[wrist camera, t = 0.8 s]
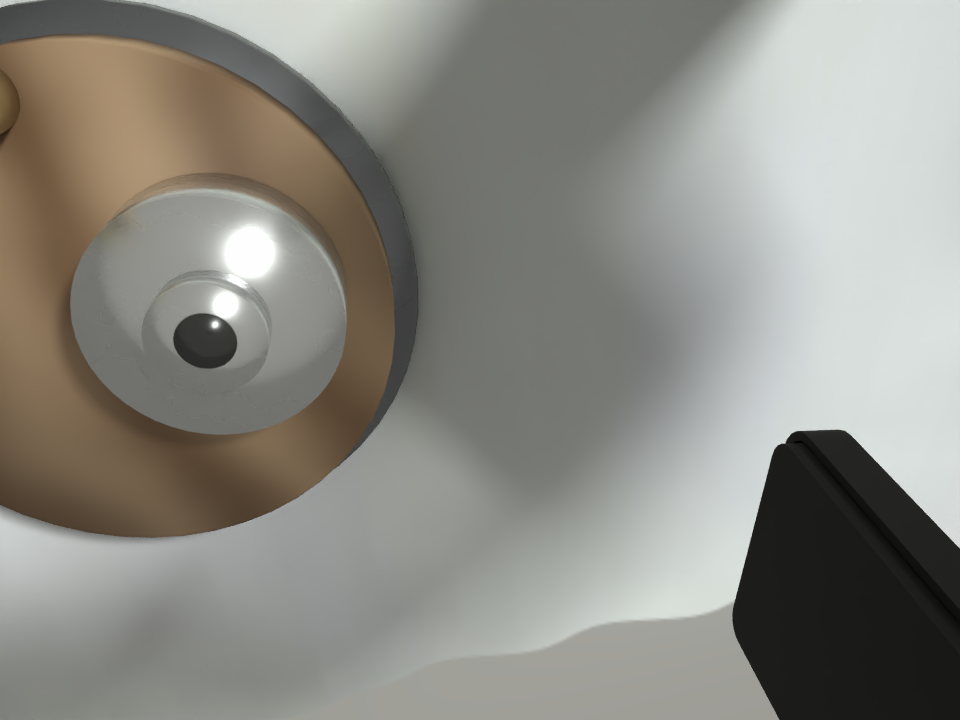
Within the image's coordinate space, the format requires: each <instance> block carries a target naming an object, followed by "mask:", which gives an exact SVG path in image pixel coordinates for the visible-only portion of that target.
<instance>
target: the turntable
mask: <svg viewBox="0 0 960 720" xmlns="http://www.w3.org/2000/svg"><path fill="white" fill-rule="evenodd" d="M193 173H224V174H233V175H237V176H241V177H246V178H250V179H253V180H256V181H258V182H261V183H264V184H267V185H269V186H271V187H273V188H275V189H277V190H279V191H281V192H283V193H284V194H286V195H287V196H289V197H290V198H292V199H293V200H295V201H296V202H298V203H299V204H300V205H301V206H302V207H304V208H305V209H306V210H307V211H308V212H310V213H311V214H312V215H313V217H314V218H315V219H316V220H317V221H318V222H319V223H320V224H321V225H322V227H323V228H324V229H325V231H326V232H327V234H328V235H329V237H330V238H331V239H332V241H333V243H334V245H335V247H336V249H337V251H338V253H339V255H340V258H341V261H342V264H343V266H344V270H345V275H346V280H347V290H348V304H347V321H346V336H345V344H344V349H343V353H342V357H341V360H340V362H339V365H338V367H337V370H336V372H335V373H334V375H333V377H332V379H331V380H330V382H329V383H328V385H327V386H326V387H325V389H324V390H323V391H322V392H321V394H320V395H319V396H318V397H317V398H316V399H315V400H314V401H313V402H312V403H310V404H309V405H308V406H307V407H305V408H304V409H303V410H301V411H300V412H299V413H297V414H296V415H294V416H292V417H290V418H288V419H287V420H285V421H283V422H280V423H278V424H275V425H273V426H271V427H268V428H264V429H260V430H257V431H253V432H246V433H240V434H226V435H217V434H203V433H196V432H190V431H185V430H182V429H178V428H174V427H171V426H168V425H165V424H163V423H160V422H158V421H155V420H153V419H151V418H149V417H147V416H145V415H143V414H141V413H139V412H138V411H136V410H135V409H133V408H132V407H130V406H129V405H127V404H125V403H124V402H123V401H122V400H121V399H119V398H118V397H117V396H116V395H114V394H113V393H112V392H111V391H110V390H109V389H108V388H107V387H106V386H105V385H104V384H103V383H102V382H101V381H100V379H99V378H98V377H97V375H96V374H95V373H94V371H93V370H92V369H91V367H90V366H89V364H88V362H87V361H86V359H85V357H84V355H83V354H82V352H81V349H80V347H79V344H78V342H77V339H76V337H75V333H74V329H73V325H72V320H71V310H70V299H71V288H72V283H73V279H74V274H75V272H76V269H77V267H78V264H79V262H80V259H81V257H82V256H83V254H84V253H85V251H86V249H87V248H88V246H89V244H90V243H91V242H92V241H93V240H94V238H95V237H96V236H97V235H98V234H99V232H100V231H101V230H102V229H103V228H104V226H105V225H106V224H107V223H108V222H109V220H110V219H111V218H112V217H113V216H114V214H115V213H116V212H117V211H118V210H119V209H120V207H121V206H122V205H123V204H125V203H126V202H127V201H128V200H129V199H130V198H132V197H133V196H134V195H136V194H137V193H139V192H140V191H142V190H144V189H145V188H147V187H149V186H151V185H153V184H155V183H158V182H160V181H162V180H165V179H169V178H172V177H176V176H179V175H186V174H193ZM394 339H395V319H394V297H393V282H392V277H391V272H390V266H389V261H388V255H387V251H386V248H385V245H384V242H383V239H382V236H381V233H380V230H379V227H378V224H377V222H376V220H375V218H374V216H373V214H372V212H371V210H370V208H369V205H368V203H367V201H366V199H365V197H364V195H363V193H362V191H361V190H360V188H359V187H358V185H357V184H356V182H355V181H354V179H353V178H352V176H351V175H350V173H349V172H348V170H347V169H346V167H345V166H344V164H343V163H342V162H341V160H340V159H339V158H338V157H337V156H336V155H335V153H334V152H333V151H332V150H331V149H330V148H329V146H328V145H327V144H326V143H325V142H324V141H323V139H322V138H321V137H320V136H319V135H318V134H317V133H316V132H315V131H314V130H313V129H312V128H311V127H310V126H308V125H307V124H306V123H305V122H304V121H303V120H302V119H301V118H300V117H299V116H297V115H296V114H295V113H294V112H293V111H292V110H291V109H290V108H288V107H287V106H286V105H284V104H283V103H281V102H280V101H279V100H277V99H276V98H274V97H273V96H271V95H270V94H269V93H267V92H266V91H264V90H263V89H262V88H260V87H259V86H257V85H256V84H254V83H252V82H250V81H248V80H247V79H245V78H243V77H241V76H239V75H237V74H236V73H234V72H232V71H230V70H228V69H226V68H225V67H223V66H221V65H218V64H216V63H213V62H211V61H208V60H206V59H203V58H201V57H198V56H196V55H193V54H191V53H188V52H186V51H183V50H180V49H176V48H172V47H169V46H165V45H161V44H157V43H153V42H150V41H146V40H142V39H135V38H128V37H120V36H113V35H105V34H52V35H45V36H38V37H30V38H23V39H17V40H13V41H10V42H6V43H3V44H0V505H2V506H5V507H7V508H9V509H11V510H14V511H16V512H18V513H21V514H23V515H26V516H29V517H33V518H36V519H39V520H42V521H45V522H48V523H51V524H54V525H58V526H63V527H67V528H71V529H76V530H80V531H85V532H90V533H98V534H106V535H114V536H123V537H169V536H185V535H191V534H197V533H203V532H209V531H215V530H219V529H222V528H226V527H230V526H233V525H237V524H240V523H244V522H247V521H249V520H252V519H254V518H257V517H259V516H262V515H264V514H267V513H269V512H272V511H274V510H275V509H277V508H279V507H281V506H283V505H285V504H287V503H288V502H290V501H292V500H294V499H296V498H298V497H299V496H300V495H302V494H303V493H305V492H306V491H307V490H309V489H310V488H312V487H313V486H315V485H316V484H317V483H319V482H320V481H321V480H322V479H323V478H325V477H326V476H327V475H328V474H329V473H330V472H331V471H332V470H333V469H334V468H335V467H337V466H338V465H339V464H340V463H341V462H342V461H343V459H344V458H345V457H346V456H347V455H348V453H349V452H350V451H351V450H352V448H353V447H354V446H355V445H356V444H357V442H358V441H359V440H360V438H361V436H362V435H363V433H364V432H365V430H366V428H367V427H368V425H369V423H370V422H371V420H372V418H373V417H374V414H375V412H376V410H377V407H378V405H379V403H380V400H381V398H382V396H383V393H384V391H385V387H386V384H387V380H388V376H389V372H390V368H391V365H392V357H393V348H394Z"/></svg>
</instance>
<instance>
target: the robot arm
mask: <svg viewBox="0 0 960 720" xmlns="http://www.w3.org/2000/svg"><path fill="white" fill-rule="evenodd" d="M733 627H734V631H735V635H736V638H737V640H738V642H739V644H740V646H741V648H742V650H743V651H744V654H745V656H746V657H747V659H748V661H749V663H750V665H751V667H752V669H753V671H754V672H755V674H756V676H757V678H758V680H759V682H760V684H761V686H762V688H763V690H764V691H765V693H766V695H767V697H768V699H769V701H770V703H771V705H772V706H773V708H774V710H775V712H776V714H777V716H778V718H779V720H960V548H959V547H958V546H957V545H956V544H955V543H954V542H953V541H952V540H951V539H950V538H949V537H948V536H947V535H946V534H945V533H944V532H943V531H942V530H941V529H940V528H939V527H938V526H937V524H936V523H935V522H934V521H933V520H932V519H931V518H930V517H929V516H928V515H927V514H926V513H925V512H924V511H923V510H922V509H921V508H920V507H919V506H918V505H917V504H916V503H915V502H914V501H913V499H912V498H911V497H910V496H909V495H908V494H907V493H906V492H905V491H904V490H903V489H902V488H901V487H900V486H899V485H898V484H897V483H896V482H895V481H894V480H893V479H892V478H891V477H890V476H889V475H888V473H887V472H886V471H885V470H884V469H883V468H882V467H881V466H880V465H879V464H878V463H877V462H876V461H875V460H874V459H873V458H872V457H871V456H870V455H869V454H868V453H867V452H866V451H865V450H864V448H863V447H862V446H861V445H860V444H859V443H858V442H857V441H856V440H855V439H854V438H853V437H852V436H851V435H850V434H848V433H847V432H846V431H843V430H817V431H796V432H794V433H792V434H791V435H790V436H789V437H788V439H787V441H786V444H780V445H778V446H777V447H776V448H775V450H774V452H773V455H772V459H771V463H770V466H769V470H768V474H767V478H766V482H765V486H764V490H763V494H762V498H761V502H760V505H759V509H758V513H757V517H756V521H755V525H754V529H753V533H752V537H751V541H750V544H749V548H748V552H747V556H746V560H745V564H744V568H743V572H742V576H741V580H740V583H739V587H738V591H737V595H736V599H735V603H734V607H733Z"/></svg>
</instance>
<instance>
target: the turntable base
mask: <svg viewBox="0 0 960 720" xmlns="http://www.w3.org/2000/svg"><path fill="white" fill-rule="evenodd" d="M52 34H105V35H113V36H120V37H128V38H135V39H142V40H146V41H150V42H153V43H157V44H161V45H165V46H169V47H172V48H176V49H180V50H183V51H186V52H188V53H191V54H193V55H196V56H198V57H201V58H203V59H206V60H208V61H211V62H213V63H216V64H218V65H221V66H223V67H225V68H226V69H228V70H230V71H232V72H234V73H236V74H237V75H239V76H241V77H243V78H245V79H247V80H248V81H250V82H252V83H254V84H256V85H257V86H259V87H260V88H262V89H263V90H264V91H266V92H267V93H269V94H270V95H271V96H273V97H274V98H276V99H277V100H279V101H280V102H281V103H283V104H284V105H286V106H287V107H288V108H290V109H291V110H292V111H293V112H294V113H295V114H296V115H297V116H299V117H300V118H301V119H302V120H303V121H304V122H305V123H306V124H307V125H308V126H310V127H311V128H312V129H313V130H314V131H315V132H316V133H317V134H318V135H319V136H320V137H321V138H322V139H323V141H324V142H325V143H326V144H327V145H328V146H329V148H330V149H331V150H332V151H333V152H334V153H335V155H336V156H337V157H338V158H339V159H340V160H341V162H342V163H343V164H344V166H345V167H346V169H347V170H348V172H349V173H350V175H351V176H352V178H353V179H354V181H355V182H356V184H357V185H358V187H359V188H360V190H361V191H362V193H363V195H364V197H365V199H366V201H367V203H368V205H369V208H370V210H371V212H372V214H373V216H374V218H375V220H376V222H377V224H378V227H379V230H380V233H381V236H382V239H383V242H384V245H385V248H386V251H387V255H388V261H389V266H390V272H391V277H392V282H393V297H394V319H395V339H394V348H393V357H392V365H391V368H390V372H389V376H388V380H387V384H386V387H385V391H384V393H383V396H382V398H381V400H380V403H379V405H378V407H377V410H376V412H375V414H374V417H373V418H372V420H371V422H370V423H369V425H368V427H367V428H366V430H365V432H364V433H363V435H362V436H361V438H360V440H359V441H358V442H357V444H356V445H355V446H354V447H353V448H352V450H351V451H350V452H349V453H348V455H347V456H346V457H345V458H344V459H343V461H344V460H346V459H347V458H348V457H349V456H350V455H351V454H352V453H353V452H354V451H355V450H356V449H357V448H359V447H360V446H361V445H362V443H363V442H364V441H365V440H366V439H367V437H368V436H369V435H370V434H371V432H372V431H373V430H374V429H375V428H376V426H377V425H378V424H379V423H380V421H381V419H382V418H383V416H384V415H385V413H386V411H387V410H388V408H389V407H390V405H391V403H392V402H393V400H394V398H395V396H396V394H397V392H398V389H399V387H400V385H401V383H402V380H403V378H404V376H405V373H406V371H407V367H408V364H409V360H410V356H411V353H412V349H413V345H414V342H415V333H416V325H417V317H418V280H417V271H416V265H415V259H414V253H413V247H412V241H411V236H410V233H409V230H408V227H407V224H406V220H405V217H404V214H403V211H402V208H401V205H400V203H399V200H398V198H397V196H396V194H395V192H394V190H393V188H392V185H391V183H390V181H389V179H388V177H387V175H386V173H385V171H384V169H383V168H382V166H381V165H380V163H379V161H378V160H377V158H376V157H375V155H374V154H373V152H372V150H371V149H370V147H369V146H368V144H367V143H366V141H365V139H364V138H363V137H362V136H361V135H360V133H359V132H358V131H357V130H356V129H355V127H354V126H353V125H352V124H351V123H350V121H349V120H348V119H347V118H346V117H345V115H344V114H343V113H342V112H341V111H340V109H339V108H338V107H337V106H336V105H334V104H333V103H332V102H331V101H330V100H329V99H328V98H327V97H326V96H325V95H324V94H323V93H322V92H321V91H320V90H318V89H317V88H316V87H315V86H314V85H313V84H312V83H311V82H310V81H309V80H308V79H306V78H305V77H304V76H302V75H301V74H299V73H298V72H297V71H295V70H294V69H293V68H291V67H290V66H289V65H287V64H286V63H284V62H283V61H282V60H280V59H279V58H278V57H276V56H275V55H273V54H272V53H270V52H268V51H266V50H265V49H263V48H261V47H259V46H257V45H256V44H254V43H252V42H250V41H248V40H247V39H245V38H243V37H241V36H240V35H238V34H236V33H234V32H231V31H229V30H227V29H224V28H222V27H219V26H217V25H214V24H212V23H210V22H207V21H205V20H202V19H200V18H197V17H195V16H192V15H188V14H185V13H181V12H177V11H174V10H170V9H166V8H163V7H159V6H155V5H152V4H146V3H139V2H132V1H125V0H37V1H30V2H22V3H16V4H12V5H8V6H5V7H1V8H0V44H3V43H6V42H10V41H13V40H17V39H23V38H30V37H38V36H45V35H52ZM343 461H342V462H343ZM342 462H341V463H342ZM341 463H340V464H341ZM340 464H339V465H340ZM339 465H338V466H339ZM338 466H337V467H338ZM335 468H336V467H335ZM335 468H334V469H335Z"/></svg>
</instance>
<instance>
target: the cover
mask: <svg viewBox="0 0 960 720" xmlns="http://www.w3.org/2000/svg"><path fill="white" fill-rule="evenodd" d="M347 304H348V290H347V280H346V275H345V270H344V266H343V264H342V261H341V258H340V255H339V253H338V251H337V249H336V247H335V245H334V243H333V241H332V239H331V238H330V237H329V235H328V234H327V232H326V231H325V229H324V228H323V227H322V225H321V224H320V223H319V222H318V221H317V220H316V219H315V218H314V217H313V215H312V214H311V213H310V212H308V211H307V210H306V209H305V208H304V207H302V206H301V205H300V204H299V203H298V202H296V201H295V200H293V199H292V198H290V197H289V196H287V195H286V194H284V193H283V192H281V191H279V190H277V189H275V188H273V187H271V186H269V185H267V184H264V183H261V182H258V181H256V180H253V179H250V178H246V177H241V176H237V175H233V174H224V173H193V174H186V175H179V176H176V177H172V178H169V179H165V180H162V181H160V182H158V183H155V184H153V185H151V186H149V187H147V188H145V189H144V190H142V191H140V192H139V193H137V194H136V195H134V196H133V197H132V198H130V199H129V200H128V201H127V202H126V203H125V204H123V205H122V206H121V207H120V209H119V210H118V211H117V212H116V213H115V214H114V216H113V217H112V218H111V219H110V220H109V222H108V223H107V224H106V225H105V226H104V228H103V229H102V230H101V231H100V232H99V234H98V235H97V236H96V237H95V238H94V240H93V241H92V242H91V243H90V244H89V246H88V248H87V249H86V251H85V253H84V254H83V256H82V257H81V259H80V262H79V264H78V267H77V269H76V272H75V274H74V279H73V283H72V288H71V299H70V310H71V320H72V325H73V329H74V333H75V337H76V339H77V342H78V344H79V347H80V349H81V352H82V354H83V355H84V357H85V359H86V361H87V362H88V364H89V366H90V367H91V369H92V370H93V371H94V373H95V374H96V375H97V377H98V378H99V379H100V381H101V382H102V383H103V384H104V385H105V386H106V387H107V388H108V389H109V390H110V391H111V392H112V393H113V394H114V395H116V396H117V397H118V398H119V399H121V400H122V401H123V402H124V403H125V404H127V405H129V406H130V407H132V408H133V409H135V410H136V411H138V412H139V413H141V414H143V415H145V416H147V417H149V418H151V419H153V420H155V421H158V422H160V423H163V424H165V425H168V426H171V427H174V428H178V429H182V430H185V431H190V432H196V433H203V434H217V435H226V434H240V433H246V432H253V431H257V430H260V429H264V428H268V427H271V426H273V425H275V424H278V423H280V422H283V421H285V420H287V419H288V418H290V417H292V416H294V415H296V414H297V413H299V412H300V411H301V410H303V409H304V408H305V407H307V406H308V405H309V404H310V403H312V402H313V401H314V400H315V399H316V398H317V397H318V396H319V395H320V394H321V392H322V391H323V390H324V389H325V387H326V386H327V385H328V383H329V382H330V380H331V379H332V377H333V375H334V373H335V372H336V370H337V367H338V365H339V362H340V360H341V357H342V353H343V349H344V344H345V336H346V321H347Z"/></svg>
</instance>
